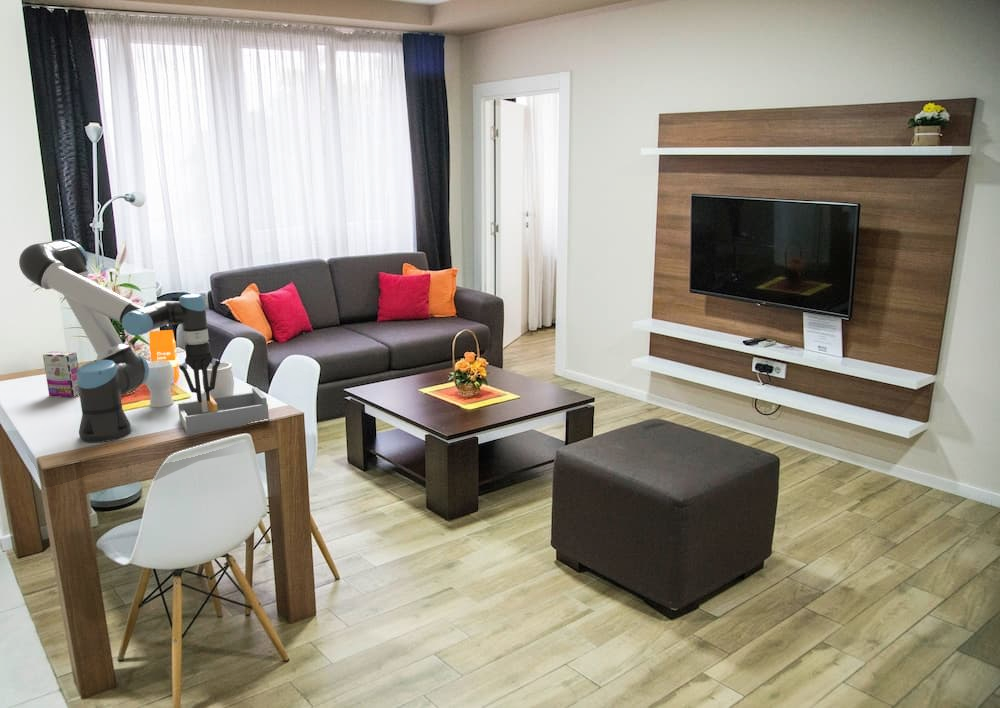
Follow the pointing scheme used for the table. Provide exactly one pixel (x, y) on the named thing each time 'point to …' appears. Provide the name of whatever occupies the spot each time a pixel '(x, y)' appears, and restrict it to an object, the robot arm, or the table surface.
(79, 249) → the robot arm
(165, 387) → the cup
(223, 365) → the jar
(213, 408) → the block
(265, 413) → the gray open tray
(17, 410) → the table surface
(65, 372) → the candy bar box
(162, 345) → the orange juice
